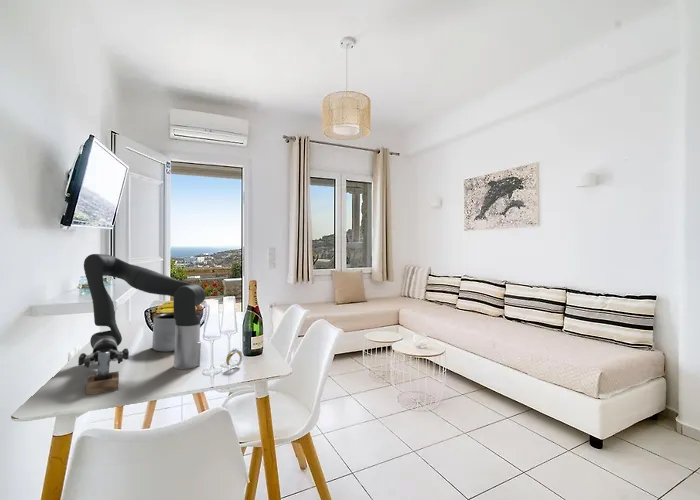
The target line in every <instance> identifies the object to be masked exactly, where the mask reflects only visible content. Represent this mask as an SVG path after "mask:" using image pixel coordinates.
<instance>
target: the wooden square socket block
mask: <svg viewBox="0 0 700 500" xmlns="http://www.w3.org/2000/svg"><path fill="white" fill-rule="evenodd" d="M119 372H120V371H113V372H112V371H111V372H110V371H109V379H106V380H100V381H97V377H98V373H95V374H91V375H88V376H87V381H86V390H85V391H86V392H85V396H91V395H95V394H100V393H107V392H113V391H119V385H120V383H119V382H120V381H119V380H120V378H119V377H120V376H119V375H120V373H119Z"/></svg>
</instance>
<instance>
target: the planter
mask: <svg viewBox="0 0 700 500" xmlns="http://www.w3.org/2000/svg"><path fill="white" fill-rule="evenodd" d="M175 326H176V321H175V318H174V312H166V313H165V312H164V313H159V314H156V315H154V316H153V325H152V327H153V328H152V342H151V343H152V345H151V347H152V349H153V350H154V351H156V352H161V353H162V352H163V353H165V352H166V353H167V352H174V351H175Z"/></svg>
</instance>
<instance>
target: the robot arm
mask: <svg viewBox="0 0 700 500" xmlns="http://www.w3.org/2000/svg"><path fill="white" fill-rule="evenodd" d="M83 271H84V274H85V279H86V281H87V285H88V290H89V292H90V296H91V300H92V306H93V322H94V325H95V326H97V327H108V328H109V329H110V330H103V331H99V332H98V331H97V332H95V333H93V334H92V335H91V337H90V342H89V343H90V346H91V348H92V352H91V353H90V354H87V353H84V352H83V353H80V354H79V356H78V361H77V362H78V366H84V367H86V368H88V369H89V368H90V366H91V365H95V364H98V353H99V352H103V351H109V352H110V362H117V364H118V365H119V364H121V363H122V362H123V361H124V360H129V354H130V352H129V349H128V348H125V347H124V348H123V349H122V350H121V351H120V350H118V346H120V344H121V343H122V340H123V337H122V334H121V332H120V330H119V327H118V324H117V321H116V315H115V312H116V311H115V306H114V301H113V299H112V298H111V295H110V293H109V292H108V290H107V288H106V286H105V283H104V277H112V278H117V279H120V280H123V281H124V282H126V283H127V284H128V285H129V286H130V287H132V288H134V289H136V290H139V291H142V292H143V293H147V294H153V295H161V296H169V297H173V302H172V303H173V313H174V318H175V321H176V326H175V351H173V352H174V356H173V359H174V360H173V368H175V369H177V370H188V369H194V368H196V367H200V366H201V348H202V347H201V343H202V342H201V340H200V339H201V337H200V336H201V316H200V315H199V314H198V315H197V313H196V307H197V306H199V305H200V304H202V303H203V302H204V301H205V300H206V292H205V289H204V288H203V287H202V286H200V285H198V284H197V283H196V284H195V283H191V282H186V281H181V280H179V279H176V278H174V277H171V276H168V275H166V274H163V273H159V272H158V271H155V270H152V269H148V268H145V267H142V266H139V265H137V264H136V265H135V264H131V263H128V262H126V261H124V260H122V259H120V258H118V257H115V256H114V255H110V254H103V253H93V254H89V255H87V256H86V258H85V259H84V262H83Z"/></svg>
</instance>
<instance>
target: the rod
mask: <svg viewBox="0 0 700 500" xmlns="http://www.w3.org/2000/svg"><path fill="white" fill-rule="evenodd" d="M110 363H111V361H110V352H109V351H103V352H99V353H98V362H97V374H98V377H97V381H100V380H106V379H109V373H110Z"/></svg>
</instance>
